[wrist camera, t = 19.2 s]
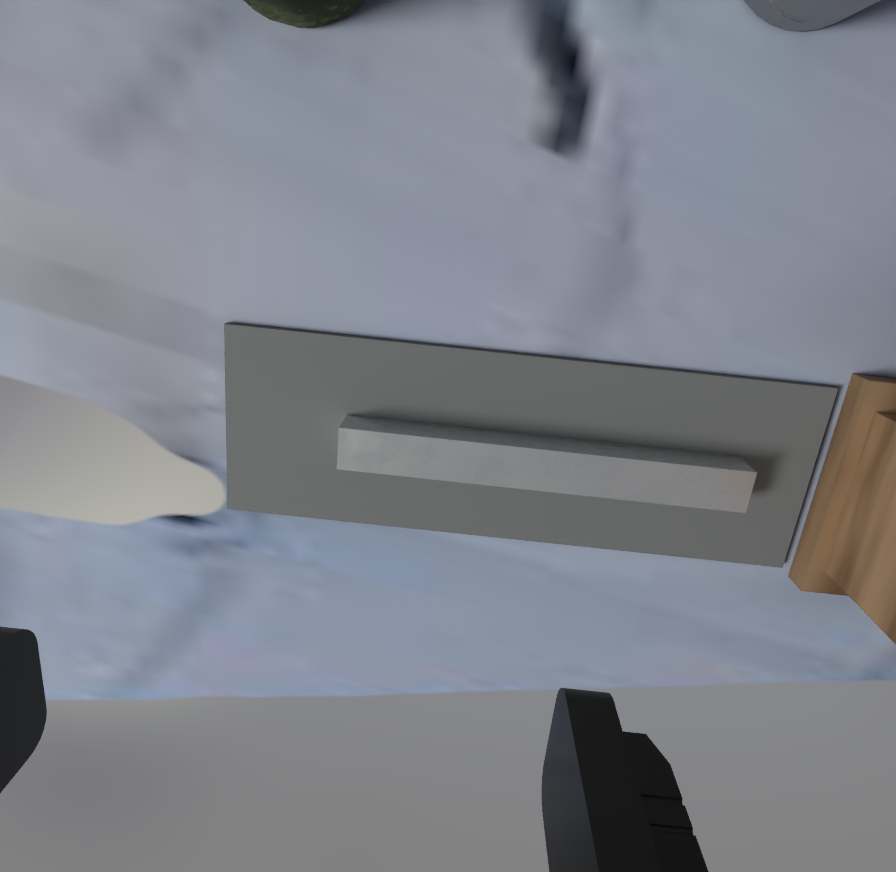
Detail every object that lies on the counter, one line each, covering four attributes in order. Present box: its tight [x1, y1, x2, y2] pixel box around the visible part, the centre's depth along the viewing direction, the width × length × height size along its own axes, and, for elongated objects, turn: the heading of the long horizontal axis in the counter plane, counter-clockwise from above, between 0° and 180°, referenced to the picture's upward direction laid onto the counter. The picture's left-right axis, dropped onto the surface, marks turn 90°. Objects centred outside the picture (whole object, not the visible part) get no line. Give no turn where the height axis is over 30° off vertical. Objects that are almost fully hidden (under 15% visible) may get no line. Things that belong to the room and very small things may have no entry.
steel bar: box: [337, 414, 757, 513], centre depth 45 cm, size 28×3×3 cm, turn 84°
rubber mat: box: [224, 323, 838, 567], centre depth 46 cm, size 42×14×1 cm, turn 84°
